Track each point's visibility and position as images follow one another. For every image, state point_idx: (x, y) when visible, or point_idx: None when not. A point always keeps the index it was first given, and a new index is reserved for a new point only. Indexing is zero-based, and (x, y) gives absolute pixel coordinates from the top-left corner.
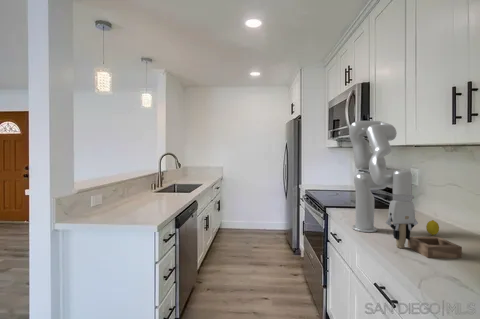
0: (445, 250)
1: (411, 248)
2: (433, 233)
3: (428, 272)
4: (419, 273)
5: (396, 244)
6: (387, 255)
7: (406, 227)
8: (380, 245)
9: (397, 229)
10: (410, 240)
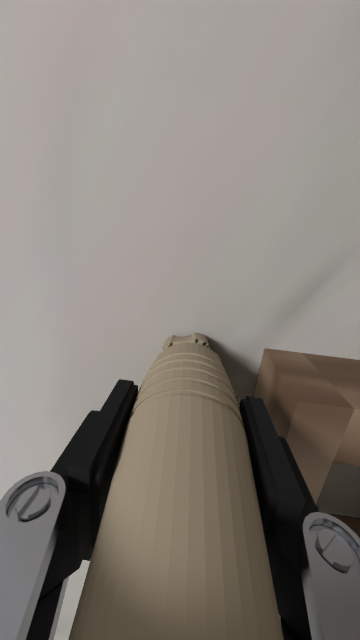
0: None
1: (254, 394)
2: None
3: None
4: (62, 607)
5: (163, 347)
6: (18, 459)
7: (307, 586)
8: (54, 287)
9: (63, 573)
10: (276, 423)
